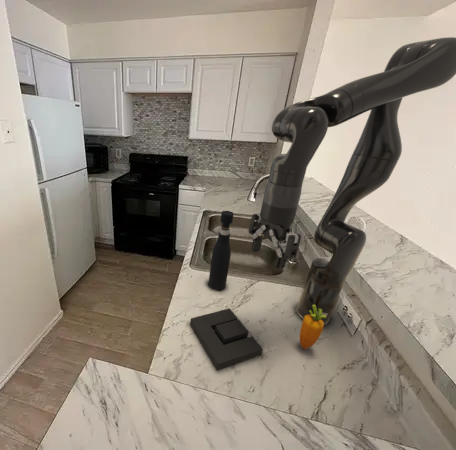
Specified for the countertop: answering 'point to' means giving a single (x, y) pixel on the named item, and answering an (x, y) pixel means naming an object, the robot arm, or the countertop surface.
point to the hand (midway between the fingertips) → (266, 259)
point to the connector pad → (231, 331)
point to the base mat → (215, 348)
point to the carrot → (311, 328)
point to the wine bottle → (221, 254)
